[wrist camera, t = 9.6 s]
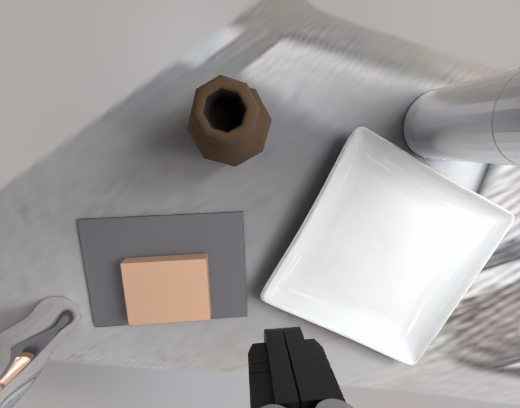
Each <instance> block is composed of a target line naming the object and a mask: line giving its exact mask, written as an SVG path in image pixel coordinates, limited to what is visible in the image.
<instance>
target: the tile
mask: <svg viewBox="0 0 520 408" xmlns="http://www.w3.org/2000/svg"><path fill="white" fill-rule="evenodd" d="M120 265H121V272H122V279H123V287H124V294H125V301H126V308H127V316H128V323H129V326H131V325H145V324H158V323H172V322H186V321H200V320H210V319H211V312H212V310H211V296H210V282H209V267H208V253H203V254H185V255H168V256H150V257H132V258H125V259H124V261H123V262H122V263H121V264H120Z"/></svg>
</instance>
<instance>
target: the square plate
mask: <svg viewBox="0 0 520 408" xmlns="http://www.w3.org/2000/svg"><path fill="white" fill-rule="evenodd" d="M514 219H515V216H514V215H513V214H512V213H511V212H509V211H508V210H506V209H504V208H503V207H501V206H499V205H498V204H496V203H494V202H492V201H490V200H488V199H487V198H485V197H483V196H481V195H479V194H477V193H475V192H474V191H472V190H470V189H468V188H466V187H464V186H463V185H461V184H459V183H457V182H455V181H454V180H452V179H450V178H448V177H447V176H445V175H443V174H441V173H440V172H438V171H436V170H435V169H433V168H431V167H430V166H428V165H426V164H425V163H423V162H422V161H420V160H418V159H417V158H415V157H413V156H412V155H410V154H409V153H407V152H405V151H404V150H402V149H401V148H399V147H398V146H396V145H394V144H393V143H391V142H390V141H388V140H386V139H385V138H383V137H381V136H380V135H378V134H377V133H375V132H373V131H371V130H369V129H368V128H366V127H363V126H358V127H356V128H355V129H354V130H353V131H352V133H351V134H350V136H349V138H348V140H347V141H346V143H345V145H344V147H343V148H342V150H341V152H340V154H339V156H338V158H337V160H336V162H335V164H334V166H333V168H332V169H331V171H330V173H329V175H328V177H327V179H326V181H325V183H324V185H323V187H322V189H321V190H320V192H319V194H318V196H317V198H316V200H315V202H314V204H313V205H312V207H311V209H310V211H309V213H308V214H307V216H306V218H305V220H304V221H303V223H302V225H301V227H300V228H299V230H298V232H297V233H296V235H295V237H294V238H293V240H292V242H291V243H290V245H289V247H288V248H287V250H286V251H285V253H284V255H283V256H282V258H281V259H280V261H279V263H278V264H277V266H276V267H275V269H274V271H273V272H272V274H271V276H270V277H269V279H268V280H267V282H266V284H265V286H264V287H263V289H262V291H261V294H260V299H261V300H262V301H264V302H266V303H268V304H270V305H272V306H274V307H276V308H279V309H281V310H283V311H285V312H288V313H290V314H293V315H295V316H297V317H300V318H302V319H305V320H307V321H309V322H312V323H314V324H316V325H319V326H321V327H323V328H326V329H328V330H330V331H333V332H335V333H337V334H339V335H342V336H344V337H346V338H348V339H351V340H353V341H355V342H357V343H359V344H362V345H364V346H366V347H368V348H370V349H373V350H375V351H377V352H379V353H381V354H383V355H386V356H388V357H390V358H392V359H394V360H397V361H399V362H401V363H404V364H406V365H410V366H412V365H415V364H416V363H417V362H418V360H419V359H420V358H421V356H422V355H423V353H424V352H425V350H426V349H427V348H428V346H429V345H430V343H431V342H432V341H433V339H434V338H435V336H436V335H437V334H438V332H439V331H440V329H441V328H442V326H443V325H444V324H445V322H446V321H447V319H448V318H449V316H450V315H451V314H452V312H453V311H454V309H455V308H456V306H457V305H458V303H459V302H460V300H461V299H462V298H463V296H464V295H465V293H466V292H467V290H468V289H469V287H470V286H471V285H472V283H473V282H474V280H475V279H476V277H477V276H478V274H479V273H480V271H481V270H482V268H483V267H484V266H485V264H486V263H487V261H488V260H489V258H490V257H491V255H492V254H493V252H494V251H495V249H496V248H497V246H498V245H499V243H500V242H501V240H502V239H503V237H504V236H505V234H506V233H507V231H508V230H509V228H510V227H511V225H512V223H513V222H514Z"/></svg>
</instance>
